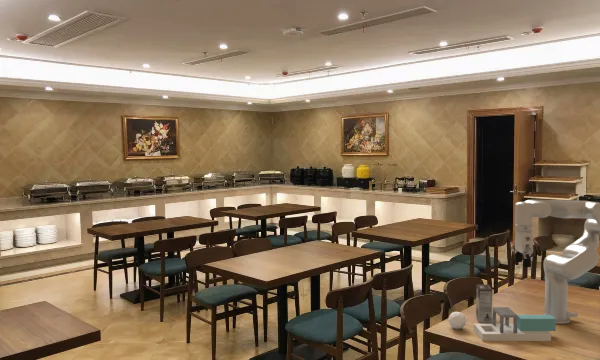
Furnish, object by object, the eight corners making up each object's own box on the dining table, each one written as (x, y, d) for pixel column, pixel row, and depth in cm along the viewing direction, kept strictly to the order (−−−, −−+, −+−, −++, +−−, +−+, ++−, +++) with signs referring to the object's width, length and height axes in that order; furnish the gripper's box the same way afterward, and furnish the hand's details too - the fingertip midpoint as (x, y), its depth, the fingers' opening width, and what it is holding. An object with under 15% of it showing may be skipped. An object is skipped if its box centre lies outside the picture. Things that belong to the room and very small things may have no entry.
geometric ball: (459, 335, 221) (461, 326, 216) (444, 325, 226) (445, 316, 221) (468, 324, 225) (470, 314, 220) (453, 315, 230) (454, 305, 225)
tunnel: (508, 324, 219) (508, 307, 219) (517, 333, 209) (517, 315, 208) (492, 324, 220) (492, 307, 219) (500, 333, 209) (500, 315, 209)
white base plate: (538, 330, 219) (538, 324, 219) (550, 341, 207) (551, 334, 207) (473, 330, 221) (473, 323, 221) (482, 340, 209) (482, 333, 209)
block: (550, 326, 216) (550, 314, 215) (555, 331, 211) (555, 318, 210) (515, 326, 216) (516, 314, 216) (520, 330, 211) (520, 318, 211)
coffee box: (475, 315, 240) (475, 283, 238) (489, 316, 238) (489, 284, 237) (478, 322, 231) (478, 289, 229) (492, 323, 229) (493, 289, 228)
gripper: (539, 231, 217) (539, 269, 218) (524, 225, 234) (523, 260, 235) (522, 231, 217) (522, 269, 218) (508, 225, 234) (507, 260, 235)
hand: (522, 264), depth 227 cm, fingers open, 9 cm apart
